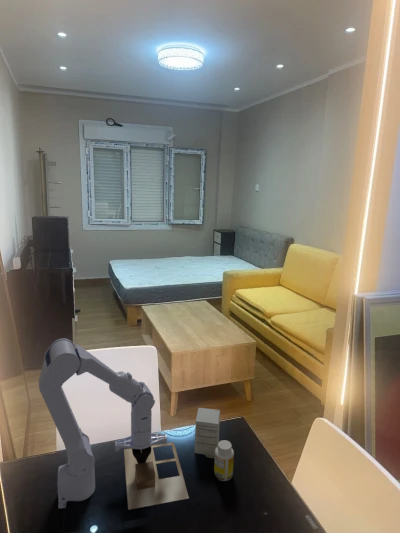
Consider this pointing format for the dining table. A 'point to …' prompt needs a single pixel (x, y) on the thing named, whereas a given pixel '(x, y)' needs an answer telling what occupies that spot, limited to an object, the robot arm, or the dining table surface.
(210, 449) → the supplement box
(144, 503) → the board
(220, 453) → the supplement bottle
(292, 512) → the dining table surface
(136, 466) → the walnut block
